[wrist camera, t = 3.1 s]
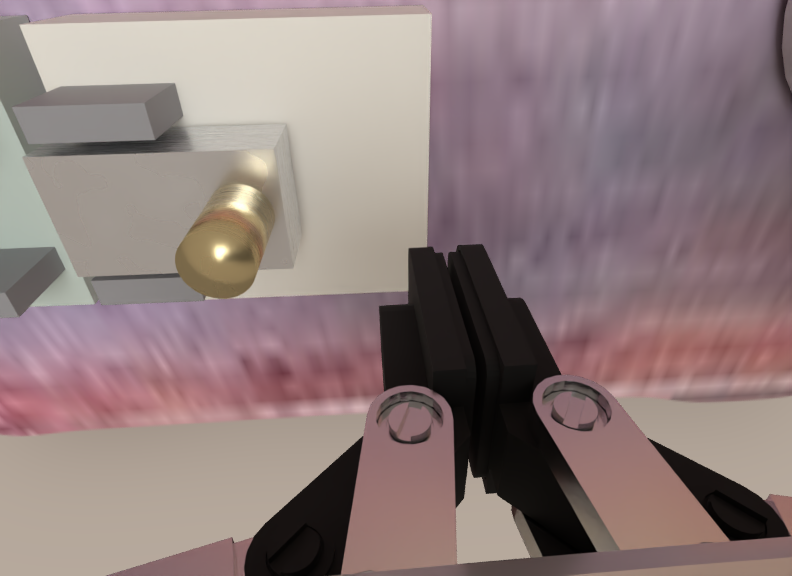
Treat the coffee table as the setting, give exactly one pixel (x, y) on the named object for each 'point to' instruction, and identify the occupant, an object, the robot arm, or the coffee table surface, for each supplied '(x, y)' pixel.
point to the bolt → (175, 204)
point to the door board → (262, 122)
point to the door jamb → (27, 198)
